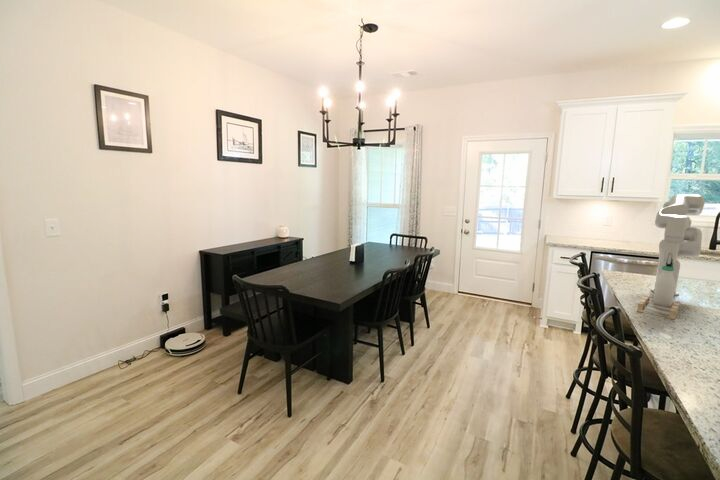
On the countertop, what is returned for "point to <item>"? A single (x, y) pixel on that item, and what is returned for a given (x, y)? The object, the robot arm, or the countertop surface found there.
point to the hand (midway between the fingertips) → (668, 274)
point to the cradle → (658, 308)
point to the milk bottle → (665, 287)
